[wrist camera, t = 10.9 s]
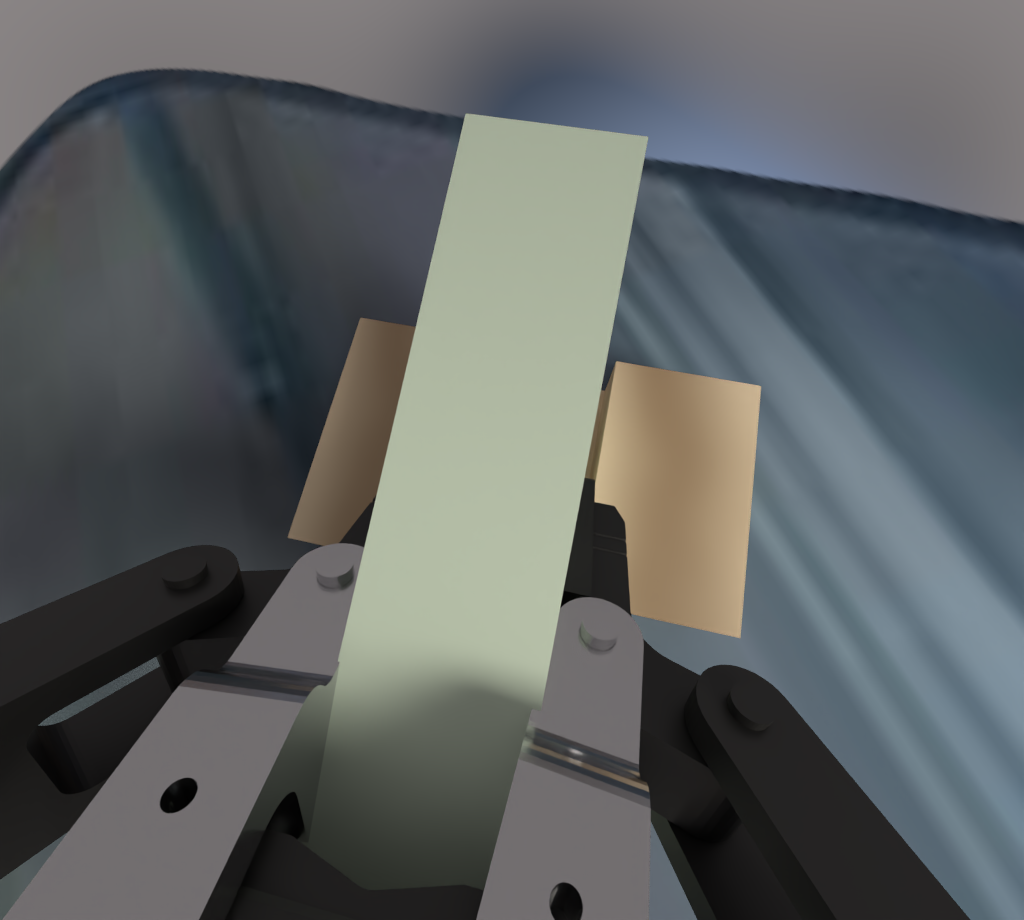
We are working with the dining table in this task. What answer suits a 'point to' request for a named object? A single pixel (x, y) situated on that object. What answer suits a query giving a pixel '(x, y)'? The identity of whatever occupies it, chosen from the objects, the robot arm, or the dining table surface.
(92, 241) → the dining table surface
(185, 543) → the dining table surface
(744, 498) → the slotted maple beam
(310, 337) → the dining table surface
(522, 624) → the sage plate
